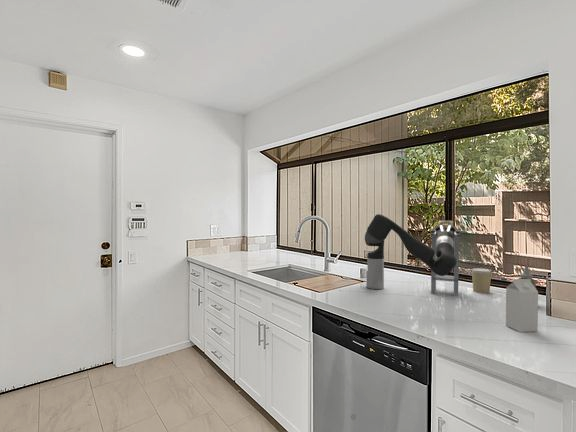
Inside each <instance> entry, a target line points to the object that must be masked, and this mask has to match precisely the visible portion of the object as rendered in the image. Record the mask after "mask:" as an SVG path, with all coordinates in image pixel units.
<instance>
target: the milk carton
mask: <svg viewBox="0 0 576 432" xmlns="http://www.w3.org/2000/svg"><path fill="white" fill-rule="evenodd" d="M535 287H536V286H535ZM535 287H534V285H533V284H532V283H531V279H519V278H517V279H512V282H511V283H510V284H509V285H507V286H506V290H505V326H507V327H509V328H511V329H513V330H514V331H517V332H519V333H526V332H527V333H528V332H538V330H539V329H538V326H539V323H538V322H539V291H538V290H537V287H536V288H535Z"/></svg>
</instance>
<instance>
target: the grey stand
mask: <svg viewBox="0 0 576 432" xmlns="http://www.w3.org/2000/svg"><path fill="white" fill-rule="evenodd" d="M429 237H431V242H430V243H431V246H430V247H431V248H432V249H434V251H435V254H434V257H433V259H434V260H435V261H436V260H437V255H436V238H437V237H436V235H431V233H430V236H429ZM460 239H461V235H460V236H457V235H456V236H455V237H454V247H453V254H454V256H455V258H456V260H457V263H456V266H455V267H454V268H453V275H448V274H447V275H445V276H439V275H437V274H435V273H434V272H433V271H432V270H431V269H430V272H431V273H430V290H431V291H430V294H436V290H437V281H445V282H453V296H454V297H459V273H460V272H459V270H460V269H459V267H460V266H459V265H460V263H459V261H460V259H459V254H460V253H459V251H460V249H459V248H460V247H459V246H460V245H459V244H460V243H459V241H460Z"/></svg>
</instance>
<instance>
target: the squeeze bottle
mask: <svg viewBox="0 0 576 432" xmlns="http://www.w3.org/2000/svg"><path fill="white" fill-rule="evenodd" d="M519 275H520V277H518V279H531V283H532V284H533V285H534V287H535V288H536V289H537V287H536V282H535V279H534V278H533V274H531V273H530V269H529V267H528V266H524V268H523V272H522V273H520V274H519Z"/></svg>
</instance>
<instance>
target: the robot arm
mask: <svg viewBox="0 0 576 432" xmlns="http://www.w3.org/2000/svg"><path fill="white" fill-rule="evenodd" d="M391 231H394V233H396V235H398V237H399V238H400V240H401V242H402V244H403V246H404V247H405V249H406V250H407V252H408V253H409V254H410V255H412V256H413V257H415V258H416V259H419V260H420V261H421V262H423V263H424V264H425V265H426V266H427V267H428V268H429V269H430V271H431V270H432V271H433V272H434V273H435V274H436V275H439V276H445V275H448V274H449V273H450V272H451V271H452V270H454V267H455V266H456V263H457V260H456V258H455V256H454V237H455V236H456V235H457V236H460V237H461V231H460V230H459V229H458V228H457V227H456V226H455V225H453V226H451V223H449V222H448V228H443V222H440V226H439V225H436V226H434V227H433V228H432V229H431V230H430V234H431V235H436V261H435V260H434V259H433V257H434V254H435V251H434V249H432V248H431V246H429V245H428V244H426V243H424V242H423V241H420V240H419V239H417V237H414V235H412V234H411V233H409V232H408V231H407V230H405V229H404V228H403V227H401V226H400V225H398V224H397V223H396V222H395V221H393V220H392V219H390V218H389V217H387V216H385V215H383V214H380V213H378V214H377V213H376V215H375V216H374V217H373V218H372V220H371V222H370V223H369V224H368V227H367V228H366V232H365V233H364V234H365V235H364V242H365V245H367V247H368V246H369V247H377V248H376V249H375V250H372V251H369V252H367V261H366V263H367V267H366V268H367V270H366V273H365V274H366V280H365V281H366V282H365V283H366V285H365V286H366V287H365V288H367V289H371V290H383V289H385V270H384V269H385V265H384V264H385V256H384V255H385V251H384V250H385V240H386V239H387V237H388V236H389V233H390V232H391Z"/></svg>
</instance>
